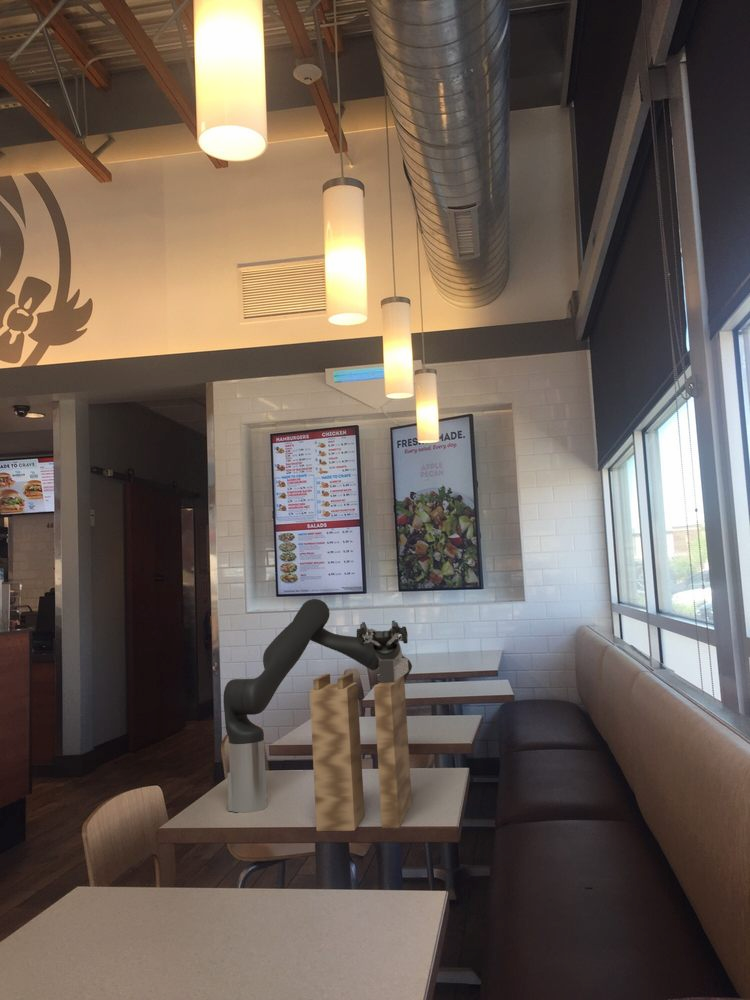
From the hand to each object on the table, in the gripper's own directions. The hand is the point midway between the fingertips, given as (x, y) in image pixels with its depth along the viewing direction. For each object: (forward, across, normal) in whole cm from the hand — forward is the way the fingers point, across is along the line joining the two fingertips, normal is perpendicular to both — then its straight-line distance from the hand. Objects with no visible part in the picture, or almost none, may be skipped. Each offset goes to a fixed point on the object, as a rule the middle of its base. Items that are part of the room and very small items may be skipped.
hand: (378, 624), depth 232 cm
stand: (0, -1, +52) cm, 52 cm away
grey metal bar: (+7, +6, +19) cm, 21 cm away
